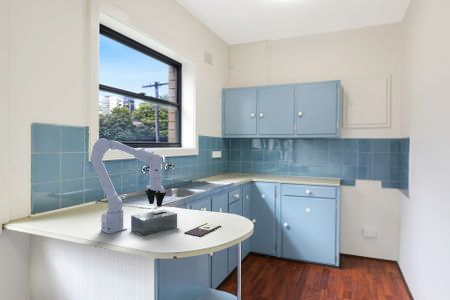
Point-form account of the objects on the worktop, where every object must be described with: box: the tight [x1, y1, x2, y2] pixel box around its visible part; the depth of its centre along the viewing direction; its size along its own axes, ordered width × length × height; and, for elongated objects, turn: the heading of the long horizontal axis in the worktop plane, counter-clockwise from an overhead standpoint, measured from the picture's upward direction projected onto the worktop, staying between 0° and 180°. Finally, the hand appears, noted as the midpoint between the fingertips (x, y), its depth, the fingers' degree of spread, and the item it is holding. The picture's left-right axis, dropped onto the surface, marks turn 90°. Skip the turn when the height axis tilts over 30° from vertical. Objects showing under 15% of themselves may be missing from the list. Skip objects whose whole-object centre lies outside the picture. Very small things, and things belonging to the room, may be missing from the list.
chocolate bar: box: [184, 222, 222, 238], centre depth 134 cm, size 9×1×18 cm
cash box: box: [130, 209, 178, 237], centre depth 136 cm, size 18×12×7 cm, turn 135°
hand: (155, 205), depth 141 cm, fingers open, 7 cm apart
